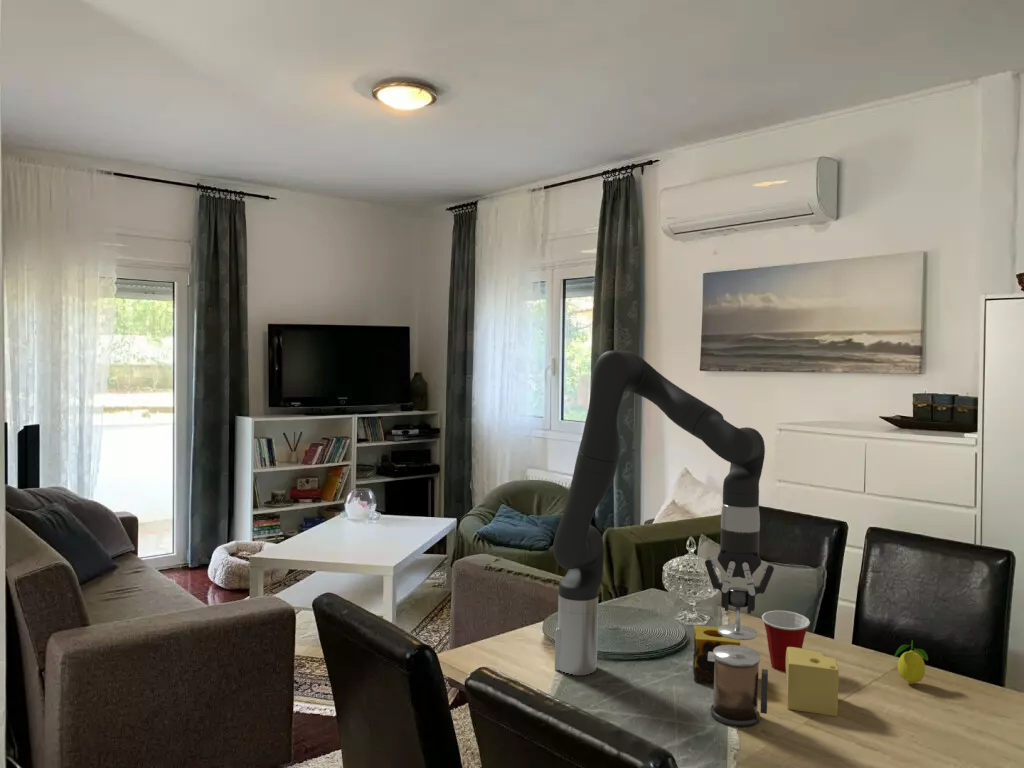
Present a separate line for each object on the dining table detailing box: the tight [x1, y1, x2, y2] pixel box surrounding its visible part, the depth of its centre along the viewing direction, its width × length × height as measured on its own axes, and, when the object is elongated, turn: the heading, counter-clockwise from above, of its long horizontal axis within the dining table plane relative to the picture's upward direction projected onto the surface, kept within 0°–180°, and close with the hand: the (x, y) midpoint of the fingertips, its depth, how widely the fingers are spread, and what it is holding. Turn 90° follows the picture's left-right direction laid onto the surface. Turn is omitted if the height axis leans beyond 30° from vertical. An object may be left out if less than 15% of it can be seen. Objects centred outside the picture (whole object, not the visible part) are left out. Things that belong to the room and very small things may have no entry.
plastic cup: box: [761, 610, 811, 673], centre depth 186 cm, size 11×11×12 cm
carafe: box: [708, 645, 769, 728], centre depth 159 cm, size 12×10×13 cm
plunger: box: [717, 586, 758, 641], centre depth 159 cm, size 8×8×9 cm
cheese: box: [785, 647, 840, 717], centre depth 166 cm, size 10×11×10 cm
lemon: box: [894, 639, 929, 685], centre depth 178 cm, size 7×6×10 cm
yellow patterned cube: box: [692, 624, 741, 685], centre depth 180 cm, size 10×10×10 cm
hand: (738, 610), depth 159 cm, fingers closed on plunger, 3 cm apart
